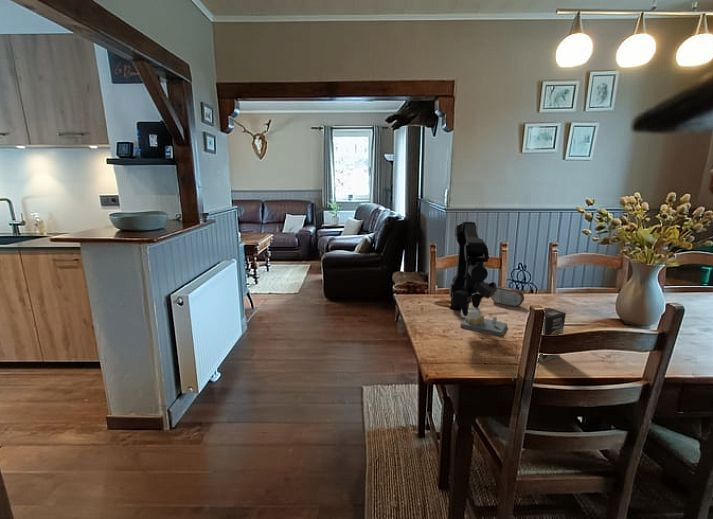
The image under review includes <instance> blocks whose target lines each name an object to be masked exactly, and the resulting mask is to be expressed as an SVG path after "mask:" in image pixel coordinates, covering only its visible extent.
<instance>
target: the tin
mask: <svg viewBox="0 0 713 519" xmlns="http://www.w3.org/2000/svg"><path fill="white" fill-rule="evenodd" d="M496 288H497V289H496V290H497V291H496V292H494V294H493V296H492V297H490V298H491V300H492V301H493V302H494V303H495V304H498V303H499V304H498V305H503V304H504V305H505V306H508V305H509V307H519V306H521V305H522V304H523V302H524V300H525V294H524V293H523V291H521V290H520V289H517V288H512V287H507V286H506V287H505V286H499V285H498V286H496ZM504 305H503V306H504Z"/></svg>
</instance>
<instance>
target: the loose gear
mask: <svg viewBox="0 0 713 519" xmlns="http://www.w3.org/2000/svg"><path fill="white" fill-rule="evenodd" d="M481 312H482V310H481V309H480V307H477V308H476V307H473V305H469V309H468V313H467V316H465V315H464V314H463V312H462V309H461V311H460V316H461V318H463V319H465V318H467V319H469V320H470V319H475V320H477V318H480V313H481ZM481 314H482V313H481Z"/></svg>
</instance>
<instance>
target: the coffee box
mask: <svg viewBox="0 0 713 519" xmlns="http://www.w3.org/2000/svg"><path fill="white" fill-rule="evenodd" d="M543 309H544V311H545V319H544V326H543V334H544V335H559V334H563V335H564V328H565V322H566V315H567V313H566V312H564V311H560V310H557V309H554V308H551V307H548V308H543ZM560 356H561V354H560V355H543V354H540V355H539V359H537V360H538V361H540V362H541V363H544V362H546V361H550V360H554V359H556V358H560Z"/></svg>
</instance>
